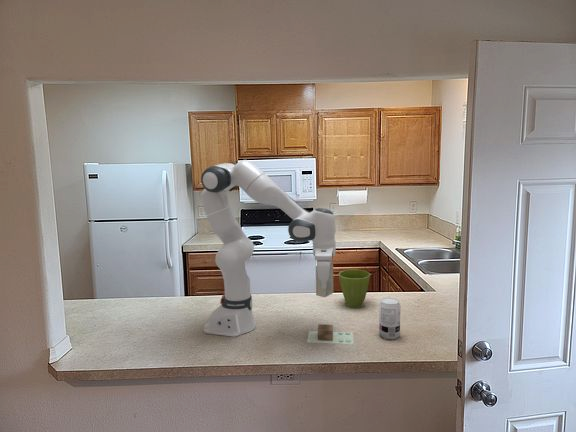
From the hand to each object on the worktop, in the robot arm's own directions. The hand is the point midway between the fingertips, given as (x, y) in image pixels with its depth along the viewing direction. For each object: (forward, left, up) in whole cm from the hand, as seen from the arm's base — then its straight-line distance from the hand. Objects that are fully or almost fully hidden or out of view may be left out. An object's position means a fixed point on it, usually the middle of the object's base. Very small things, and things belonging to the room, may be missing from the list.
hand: (324, 284), depth 160 cm
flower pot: (+13, +38, -24) cm, 47 cm away
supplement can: (+26, +6, -24) cm, 36 cm away
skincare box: (0, 0, -5) cm, 5 cm away
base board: (+2, 0, -24) cm, 24 cm away
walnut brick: (0, 0, -22) cm, 22 cm away
